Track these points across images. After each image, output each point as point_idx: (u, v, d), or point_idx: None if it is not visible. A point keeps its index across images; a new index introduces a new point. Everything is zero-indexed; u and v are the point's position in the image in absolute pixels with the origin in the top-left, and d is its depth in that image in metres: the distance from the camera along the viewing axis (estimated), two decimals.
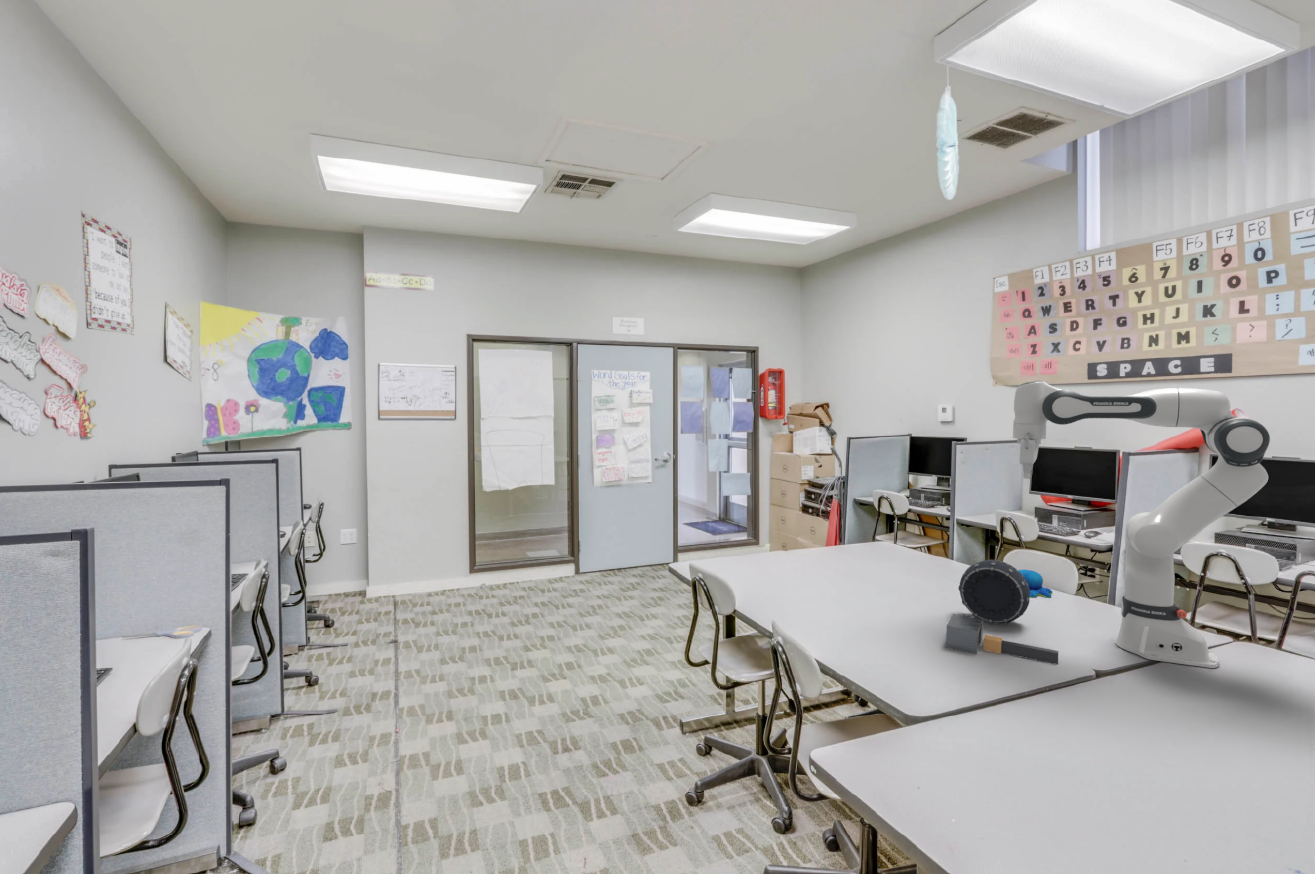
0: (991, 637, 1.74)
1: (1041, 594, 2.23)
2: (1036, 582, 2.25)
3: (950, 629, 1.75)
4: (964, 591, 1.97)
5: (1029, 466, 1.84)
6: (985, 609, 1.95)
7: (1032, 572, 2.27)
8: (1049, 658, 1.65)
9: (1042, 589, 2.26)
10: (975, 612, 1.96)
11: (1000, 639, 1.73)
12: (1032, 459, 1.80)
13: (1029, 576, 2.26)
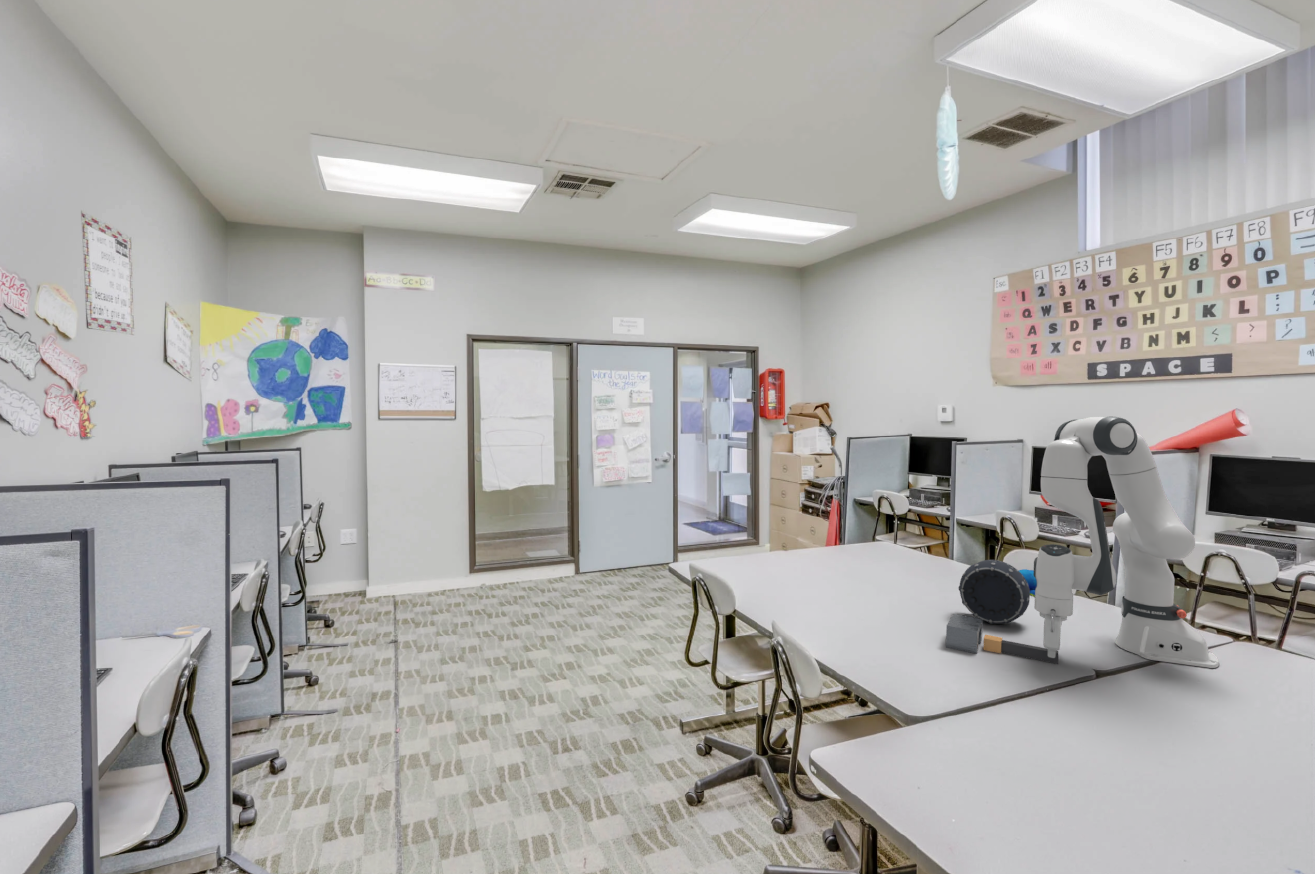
0: (991, 637, 1.74)
1: None
2: None
3: (950, 629, 1.75)
4: (964, 591, 1.97)
5: None
6: (985, 609, 1.95)
7: None
8: (1049, 658, 1.65)
9: None
10: (975, 612, 1.96)
11: (1000, 639, 1.73)
12: (1058, 645, 1.57)
13: (1033, 576, 2.26)
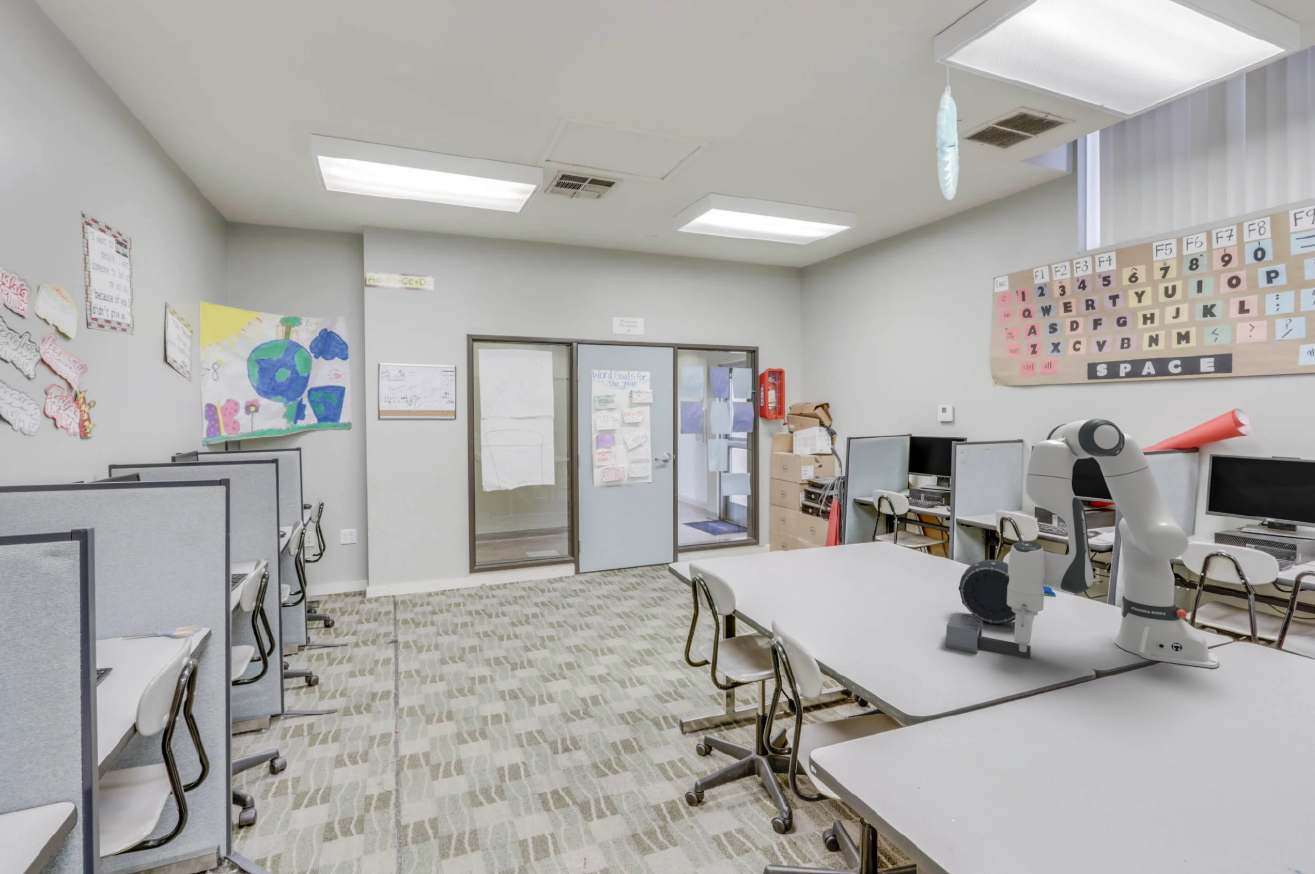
0: None
1: (1046, 593, 2.24)
2: None
3: (950, 629, 1.75)
4: (964, 591, 1.97)
5: None
6: (985, 609, 1.95)
7: None
8: (1021, 652, 1.69)
9: (1044, 588, 2.27)
10: (975, 612, 1.96)
11: None
12: (1028, 639, 1.60)
13: None
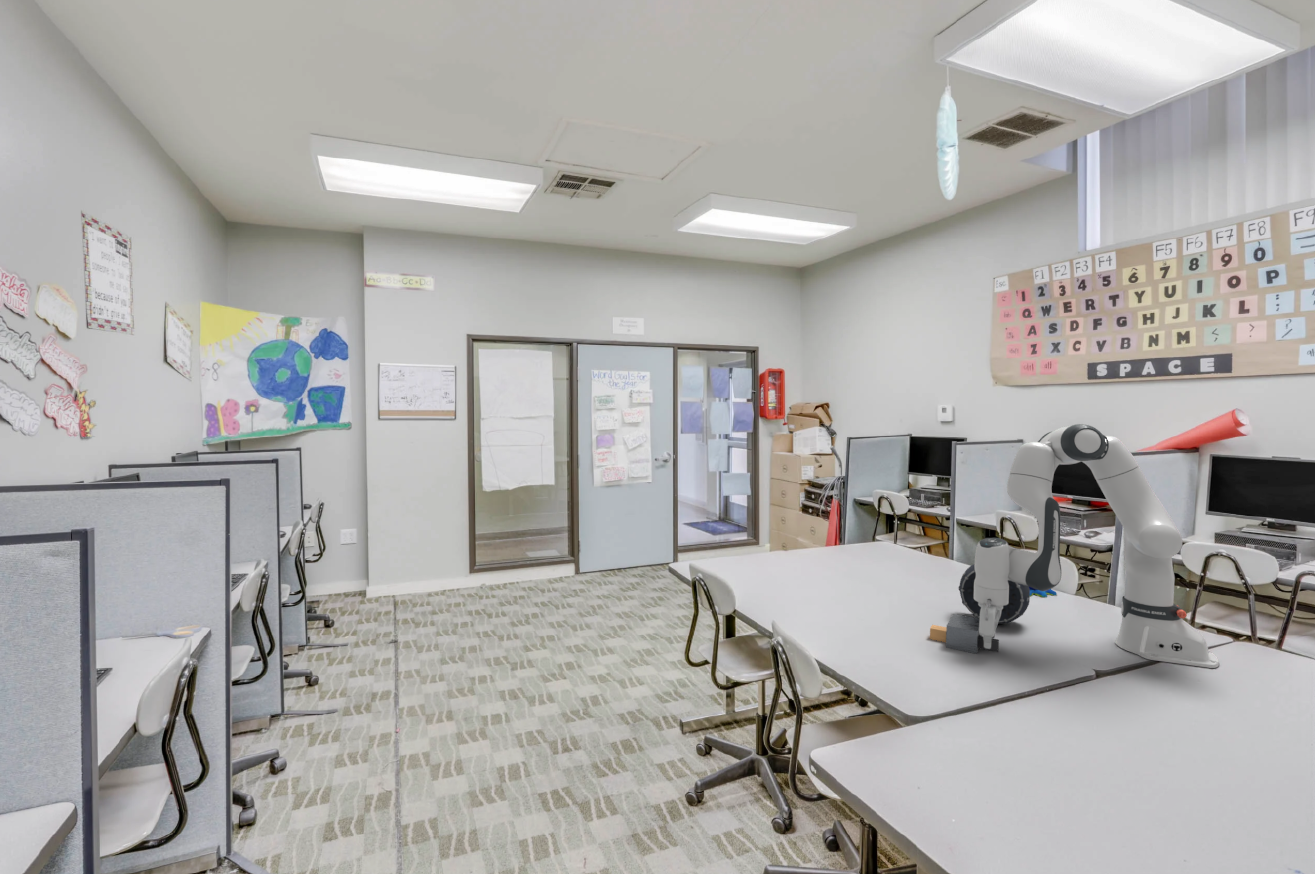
0: (937, 627, 1.82)
1: (1048, 592, 2.25)
2: None
3: (950, 629, 1.75)
4: (964, 591, 1.97)
5: (989, 636, 1.68)
6: None
7: None
8: None
9: None
10: (975, 612, 1.96)
11: (945, 629, 1.81)
12: (992, 632, 1.65)
13: None
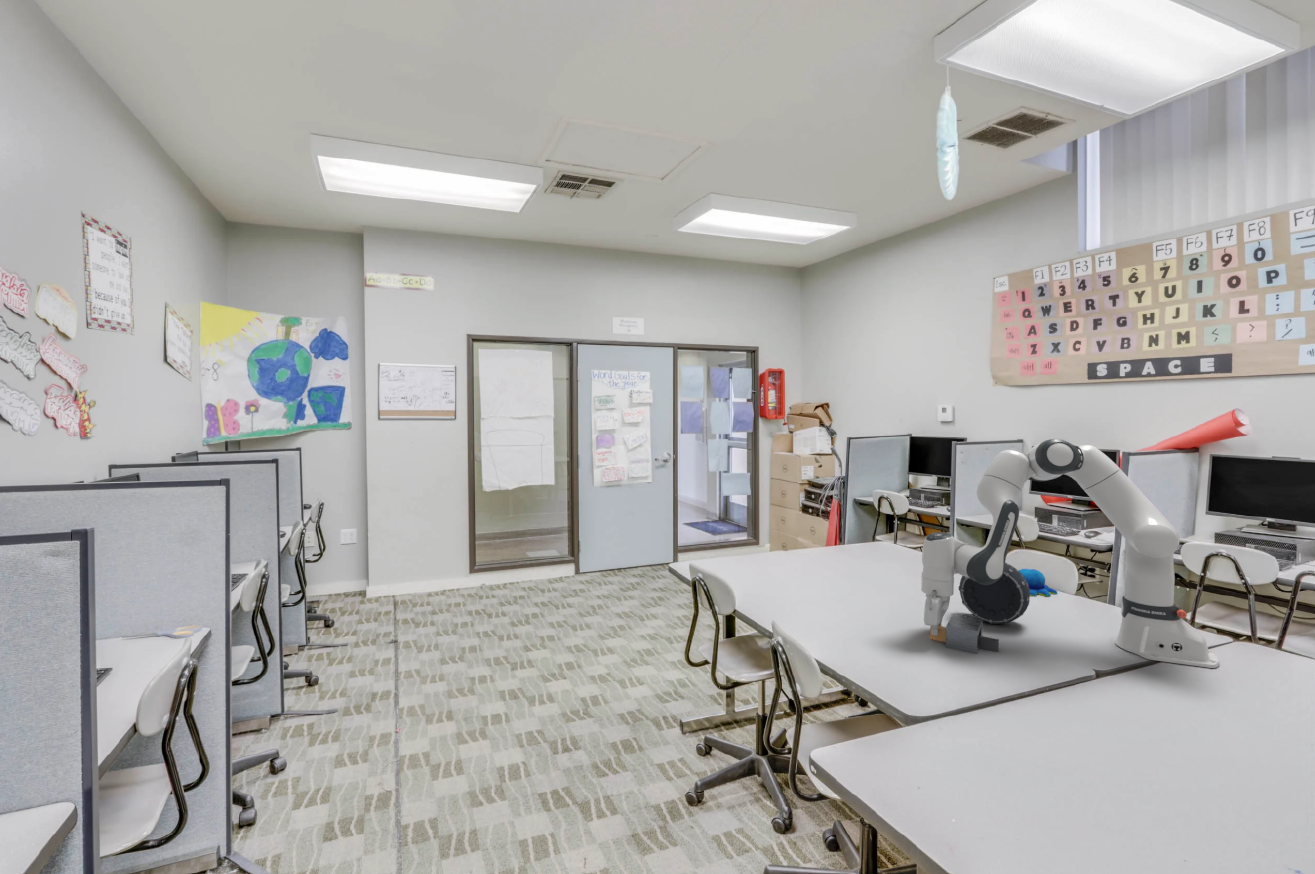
0: None
1: (1049, 591, 2.27)
2: (1044, 580, 2.27)
3: (950, 629, 1.75)
4: (964, 591, 1.97)
5: None
6: (985, 609, 1.95)
7: (1036, 571, 2.29)
8: (990, 646, 1.73)
9: (1045, 586, 2.30)
10: (975, 612, 1.96)
11: (945, 628, 1.81)
12: (936, 621, 1.73)
13: (1039, 575, 2.27)
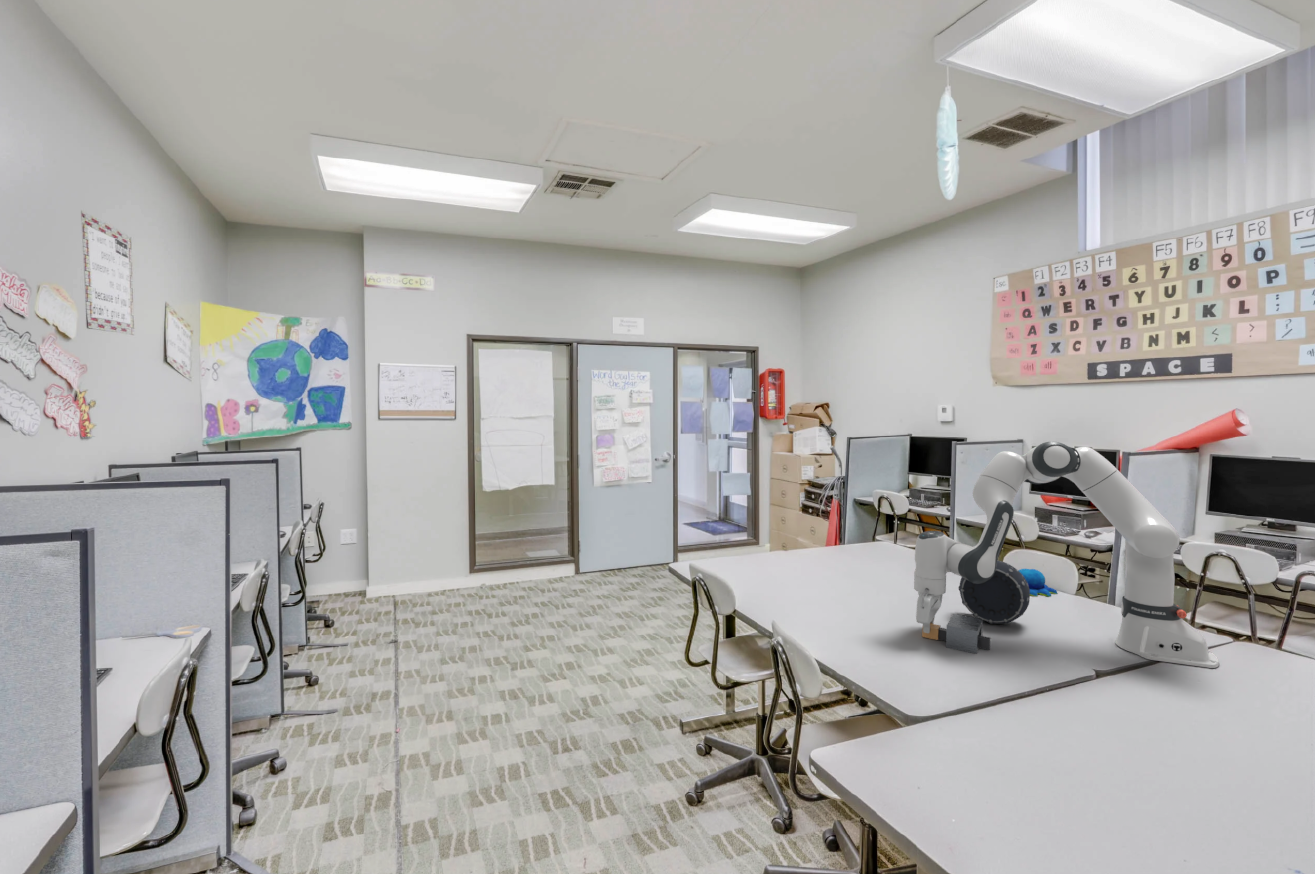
0: (930, 624, 1.84)
1: (1049, 591, 2.27)
2: (1044, 580, 2.27)
3: (950, 629, 1.75)
4: (964, 591, 1.97)
5: None
6: (985, 609, 1.95)
7: (1036, 571, 2.30)
8: (981, 644, 1.75)
9: (1045, 586, 2.30)
10: (975, 612, 1.96)
11: (938, 626, 1.82)
12: (928, 619, 1.74)
13: (1039, 575, 2.27)
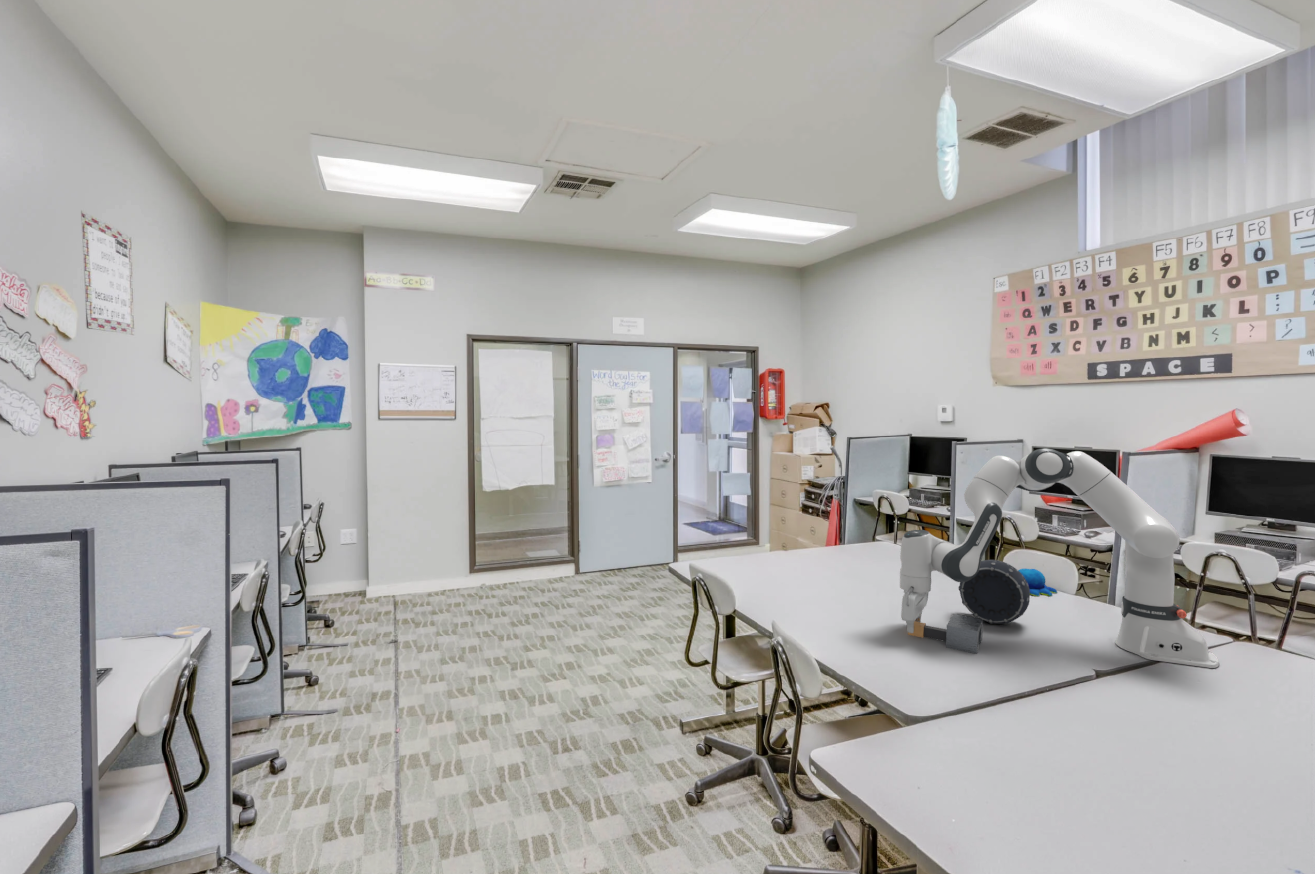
0: (915, 622, 1.86)
1: (1050, 590, 2.28)
2: None
3: (950, 629, 1.75)
4: (964, 591, 1.97)
5: (912, 621, 1.80)
6: (985, 609, 1.95)
7: (1036, 570, 2.30)
8: None
9: (1044, 585, 2.31)
10: (975, 612, 1.96)
11: (923, 624, 1.85)
12: (912, 617, 1.77)
13: (1040, 575, 2.27)
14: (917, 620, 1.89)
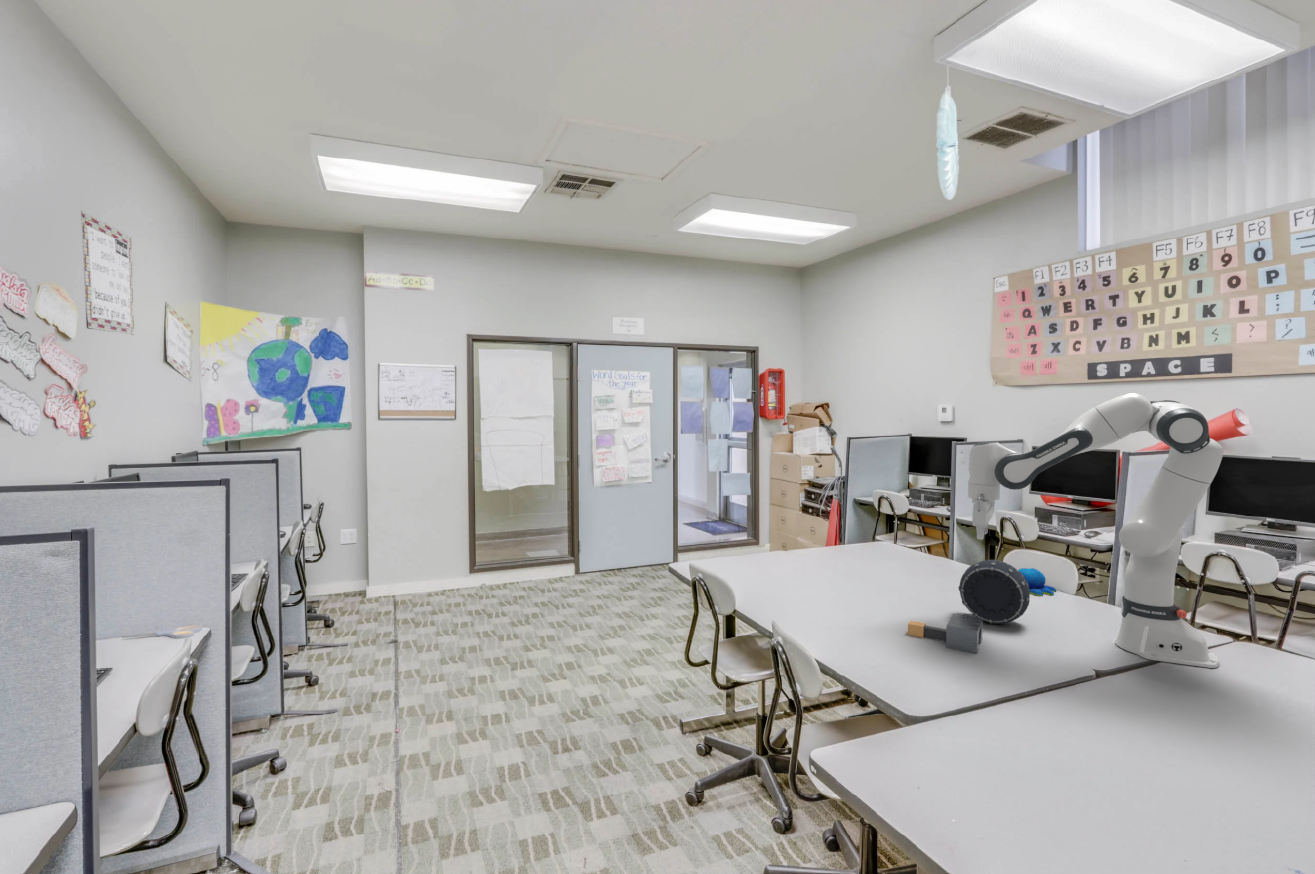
0: (915, 622, 1.86)
1: (1049, 589, 2.29)
2: (1045, 579, 2.29)
3: (950, 629, 1.75)
4: (964, 591, 1.97)
5: (982, 527, 1.85)
6: (985, 609, 1.95)
7: (1036, 570, 2.31)
8: None
9: None
10: (975, 612, 1.96)
11: (923, 624, 1.85)
12: (984, 522, 1.81)
13: (1041, 574, 2.28)
14: (984, 531, 1.94)
